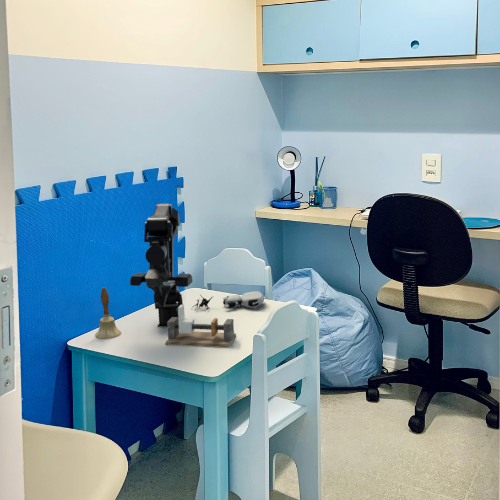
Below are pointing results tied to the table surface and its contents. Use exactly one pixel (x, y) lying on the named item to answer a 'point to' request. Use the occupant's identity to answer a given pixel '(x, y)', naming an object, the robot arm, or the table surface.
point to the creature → (202, 303)
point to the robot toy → (244, 300)
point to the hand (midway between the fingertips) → (162, 306)
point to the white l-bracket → (184, 321)
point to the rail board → (201, 334)
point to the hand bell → (107, 320)
